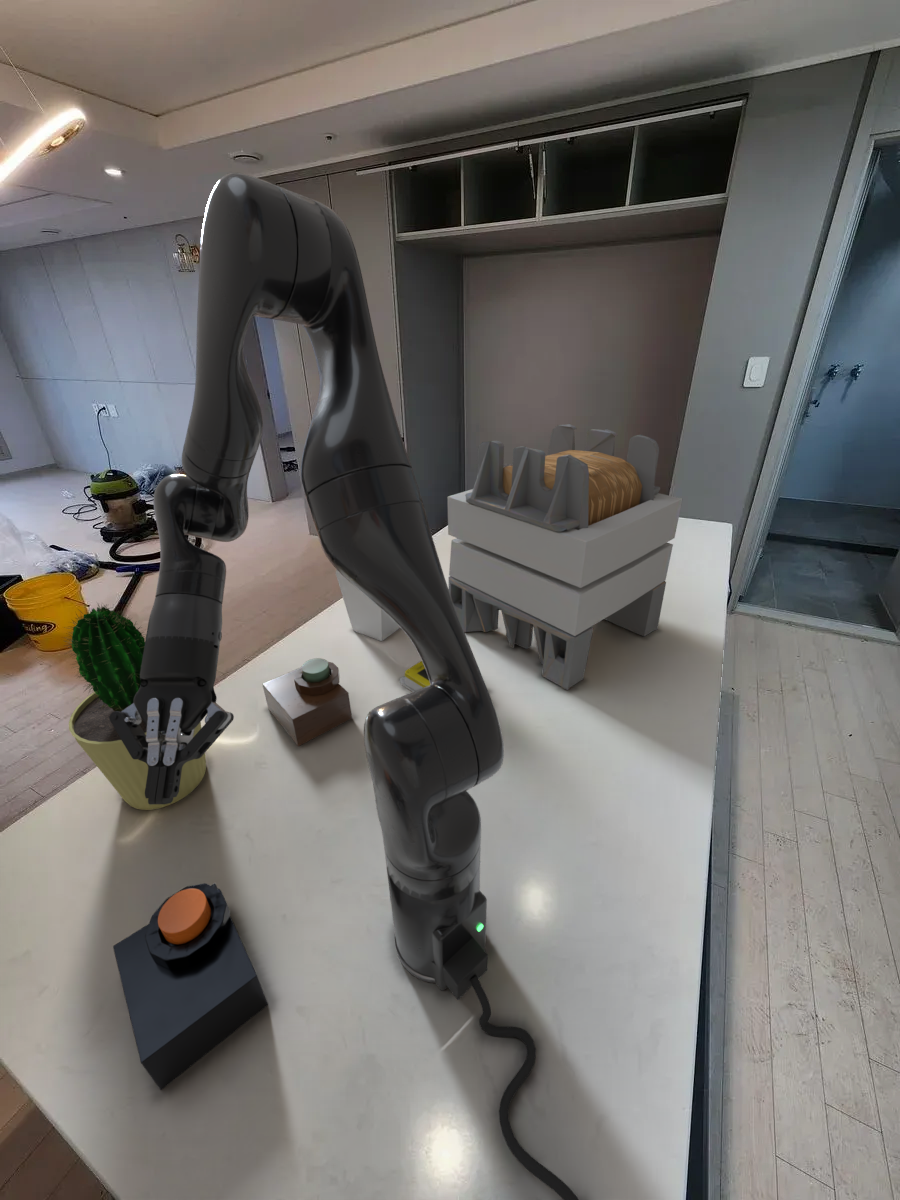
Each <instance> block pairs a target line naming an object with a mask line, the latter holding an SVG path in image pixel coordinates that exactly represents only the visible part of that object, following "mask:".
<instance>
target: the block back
mask: <svg viewBox="0 0 900 1200" xmlns="http://www.w3.org/2000/svg"><path fill="white" fill-rule="evenodd" d="M327 662H328V664H329V670H330V675H329V677H328V678H327V679H325V680H323V681H321V682H316V683H310V682H306V681H305V680H304V677H303V672H302V666H300V667H298V668H295V669H293V670H291V671H288V672H286V673H284V674H281V675H279V676H277V677H275V678H272V679H270V680H268V681H265V682H262V689H263V693H264V697H265V701H266V705H267V709H268V711H269V712H270V713H271V714H272V716H273V717H274V718H275V719H276V721H277V722H278V723H279V724H280V725H281V727H282V728H283V729H284V730H285V732H286V733H287V734H288V736H289V737H290V738H291V739H292V740H293V742H294V743H295V744H296V745H297V747H300V746H301V745H304V744H305V743H308V742H309V741H311V740H313V739H315V738H317V737H320V736H321V735H323V734H325V733H327V732H329V731H331V730H333V729H334V728H337V727H338V726H340V725H342V724H344V723H346V722H348V721H350V720H352V719H353V715H352V708H351V701H350V695H349V691H347V690H346V689H345V688H344V687H343V686H342V685H341V684H340V678H341V677H340V676H341V675H340V669H339V667H338V665H336V664H335V663H334V662H331V661H327Z"/></svg>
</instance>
